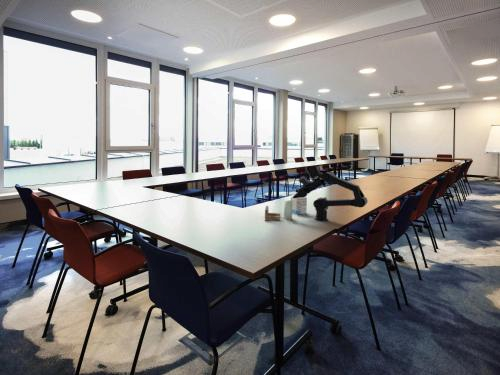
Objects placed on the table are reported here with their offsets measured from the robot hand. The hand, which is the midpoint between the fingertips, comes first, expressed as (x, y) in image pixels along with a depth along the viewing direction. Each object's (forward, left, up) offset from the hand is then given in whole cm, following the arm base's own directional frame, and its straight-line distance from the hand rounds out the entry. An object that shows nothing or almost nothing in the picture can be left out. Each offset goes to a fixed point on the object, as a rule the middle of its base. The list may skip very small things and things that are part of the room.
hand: (294, 196), depth 203 cm
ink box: (+8, -11, -14) cm, 20 cm away
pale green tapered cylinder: (-2, +6, -14) cm, 16 cm away
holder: (+4, +14, -14) cm, 20 cm away
